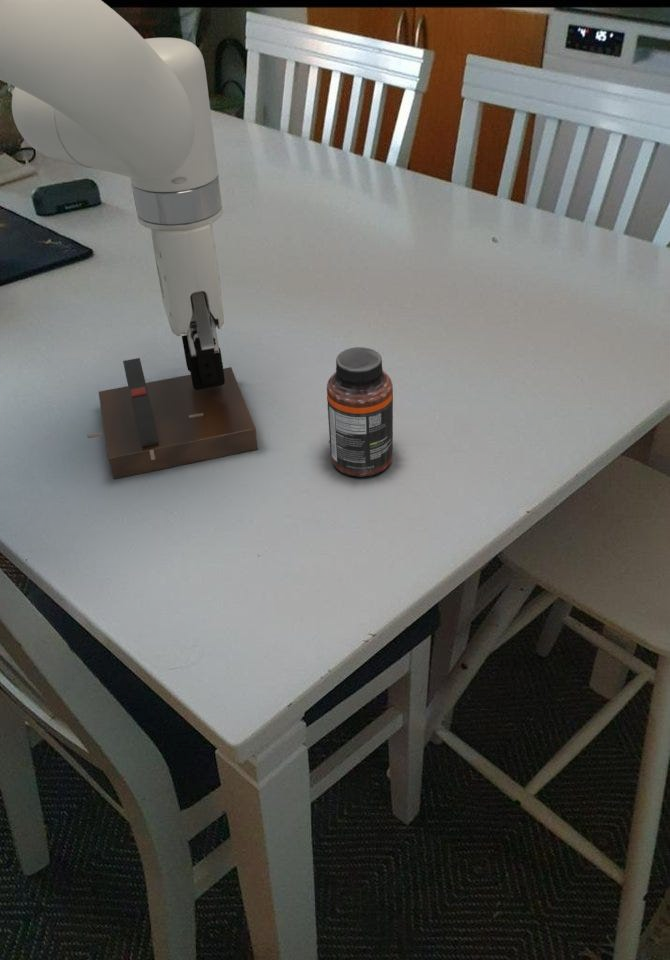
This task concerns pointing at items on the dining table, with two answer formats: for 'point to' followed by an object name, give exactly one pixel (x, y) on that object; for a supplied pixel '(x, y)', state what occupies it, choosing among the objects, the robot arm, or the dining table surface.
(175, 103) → the robot arm
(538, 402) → the dining table surface
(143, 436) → the dark battery block
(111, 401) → the panel
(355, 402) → the supplement bottle
